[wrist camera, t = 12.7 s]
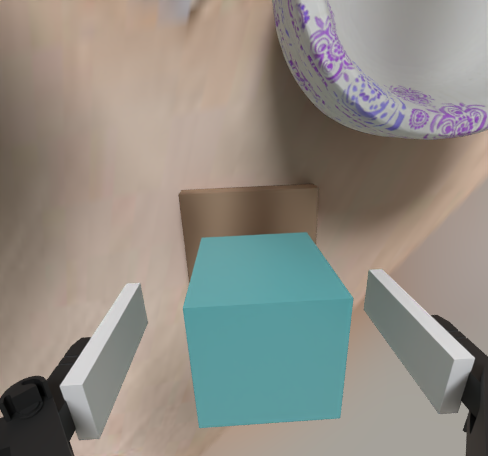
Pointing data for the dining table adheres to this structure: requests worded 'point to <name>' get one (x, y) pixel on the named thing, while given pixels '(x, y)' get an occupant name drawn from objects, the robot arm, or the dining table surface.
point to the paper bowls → (391, 63)
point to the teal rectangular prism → (266, 331)
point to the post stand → (246, 213)
